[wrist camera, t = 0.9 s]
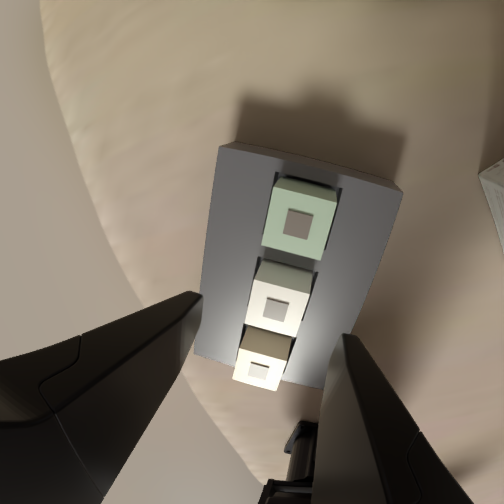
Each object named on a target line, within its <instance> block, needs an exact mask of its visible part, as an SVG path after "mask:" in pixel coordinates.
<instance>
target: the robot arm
mask: <svg viewBox="0 0 504 504" xmlns="http://www.w3.org/2000/svg"><path fill="white" fill-rule="evenodd" d="M203 302H204V297H203V295H202V294H199V293H196V292H192V291H186V292H184V293H181V294H179V295H176V296H174V297H172V298H169V299H167V300H164V301H162V302H159V303H157V304H154V305H152V306H150V307H147V308H145V309H142V310H140V311H137V312H135V313H133V314H130V315H127V316H125V317H123V318H120V319H118V320H115V321H113V322H111V323H108V324H105V325H103V326H100V327H98V328H96V329H93V330H90V331H88V332H86V333H83V334H82V336H80V335H78V336H75V337H73V338H70V339H68V340H65V341H62V342H60V343H57V344H54V345H52V346H49V347H46V348H43V349H39V350H36V351H33V352H30V353H26V354H23V355H19V356H16V357H12V358H8V359H5V360H1V361H0V504H101V502H102V501H103V499H104V497H105V496H106V494H107V492H108V491H109V489H110V487H111V486H112V484H113V482H114V481H115V479H116V477H117V476H118V474H119V472H120V471H121V469H122V467H123V466H124V464H125V463H126V461H127V459H128V457H129V456H130V454H131V452H132V451H133V449H134V448H135V446H136V444H137V443H138V441H139V439H140V438H141V436H142V434H143V433H144V431H145V429H146V428H147V426H148V424H149V423H150V421H151V419H152V418H153V416H154V415H155V413H156V411H157V410H158V408H159V406H160V405H161V403H162V401H163V400H164V398H165V396H166V395H167V393H168V391H169V390H170V388H171V386H172V385H173V383H174V381H175V380H176V378H177V376H178V374H179V373H180V370H181V368H182V366H183V364H184V362H185V359H186V357H187V355H188V352H189V350H190V348H191V346H192V343H193V341H194V339H195V337H196V334H197V332H198V330H199V327H200V324H201V320H202V311H203ZM419 431H420V429H419V427H418V425H417V424H416V422H415V421H414V419H413V418H412V416H411V415H410V413H409V412H408V410H407V409H406V407H405V406H404V404H403V403H402V401H401V400H400V398H399V397H398V395H397V394H396V392H395V391H394V389H393V388H392V386H391V385H390V383H389V382H388V380H387V379H386V377H385V376H384V374H383V373H382V371H381V370H380V368H379V367H378V365H377V364H376V363H375V361H374V360H373V358H372V357H371V355H370V354H369V352H368V351H367V349H366V348H365V347H364V345H363V344H362V342H361V341H360V339H359V338H358V337H357V336H355V335H351V334H347V333H342V334H341V335H340V337H339V339H338V341H337V343H336V346H335V348H334V350H333V352H332V354H331V357H330V360H329V364H328V370H327V376H326V381H325V387H324V392H323V397H322V402H321V408H320V415H319V424H314V423H309V422H305V421H301V422H299V423H298V425H297V427H296V429H295V430H294V432H293V434H292V436H291V438H290V439H289V441H288V443H287V445H286V446H285V449H284V452H285V453H287V454H291V458H290V463H289V468H288V473H287V478H286V481H280V480H274V479H268V482H267V485H264V488H263V492H262V494H261V497H260V500H259V502H258V504H474V503H473V502H472V500H471V499H470V498H469V497H468V495H467V494H466V493H465V491H464V490H463V489H462V488H461V486H460V485H459V484H458V482H457V481H456V480H455V479H454V477H453V476H452V475H451V473H450V472H449V471H448V469H447V468H446V467H445V465H444V464H443V463H442V461H441V460H440V459H439V457H438V456H437V454H436V453H435V451H434V450H433V448H432V447H431V445H430V444H429V442H428V441H427V439H426V438H425V436H424V435H423V433H422V432H421V431H420V432H419Z"/></svg>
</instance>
